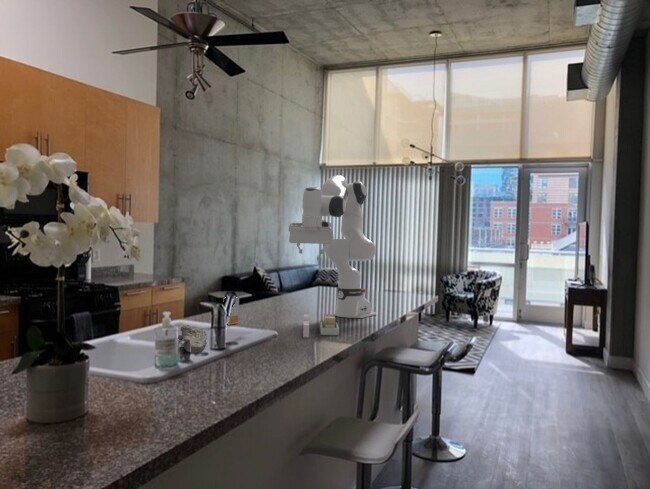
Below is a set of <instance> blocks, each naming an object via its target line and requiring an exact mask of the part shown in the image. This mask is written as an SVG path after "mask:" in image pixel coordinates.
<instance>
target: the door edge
mask: <svg viewBox="0 0 650 489" xmlns="http://www.w3.org/2000/svg"><path fill="white" fill-rule="evenodd" d="M302 333H303V334H302V335H303V336H302V337H303V338H310V313H308V314H307V313H305V314H303V330H302Z"/></svg>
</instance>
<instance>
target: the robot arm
mask: <svg viewBox="0 0 650 489" xmlns="http://www.w3.org/2000/svg"><path fill="white" fill-rule="evenodd" d="M367 194H368V192H367V188H366V185H365V184H364V182H362V181H353V182H350V183H348V181H347V179H346V178H345V177H344V176H343V175H340V174H335V175H333V176H330V177H329V178H328V179H327V180H326V181H324V183H323V184H322V188H321V187H315V186H314V187H313V186H311V187H309V186H308V187H306V188H305V189H304V190H303V194H302V195H303V196H302V210H303V212H302V214H301V215H302V217H301V222H292V223H290V224H289V226H288V232H289V235H288V236H289V239H288V240H289V241H288V242H289V243H290V244H296V246H297V249H298V254H303V248H302V249H301V247H300V246H301V244H310V245H311V244H312V245H313V244H315V245H316V244H318V245H319V244H321V245H322V248H321V249H319V254H321V255H323V254H324V252H325V256H326V257H327V259H329V260H330V261H331V262H332V263H333V264H334V265H335V268H336V269H337V270H336V271H337V277H338V280H337V281H338V285H337V286H338V287H337V290H336V294H337V299H336V300H337V301H336V306H335V311H334V313H333V314H334V317H335V316H336V317H340V318H350V319H351V318H353V319H354V318H355V319H364V318H368V317H372V316H376V315H377V312H375V311H372V310H373V308H372V303H371V302H370V301H369V300H368V299H367V298H366V297H365V296H364V295H363V293H364V294H365V293H366V292H367V289H366V288H361V272H360V271H359V270H358V269H356V268H355V267H354V266H351V265H350V264H349V262H351V261H352V262H353V261H354V262H367V261H371V260H373V258H375V255H376V253H377V248H376V245H375V243H374V241H372V240H370V239H368V238H367V237H366V236H365V234H364V229H363V223H364V222H363V212H362V207H361V206H360V205H363V204H364V201H365V200H366V198H367ZM323 217H334V218H340V217H341V225H340V226H341V227H340V228H341V229H340V232H341V235H342V236H343V238H335V236H334V231H333V229H332V228H331V227H332V223H331V222H330V221H326V220H323V219H322V218H323Z"/></svg>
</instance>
